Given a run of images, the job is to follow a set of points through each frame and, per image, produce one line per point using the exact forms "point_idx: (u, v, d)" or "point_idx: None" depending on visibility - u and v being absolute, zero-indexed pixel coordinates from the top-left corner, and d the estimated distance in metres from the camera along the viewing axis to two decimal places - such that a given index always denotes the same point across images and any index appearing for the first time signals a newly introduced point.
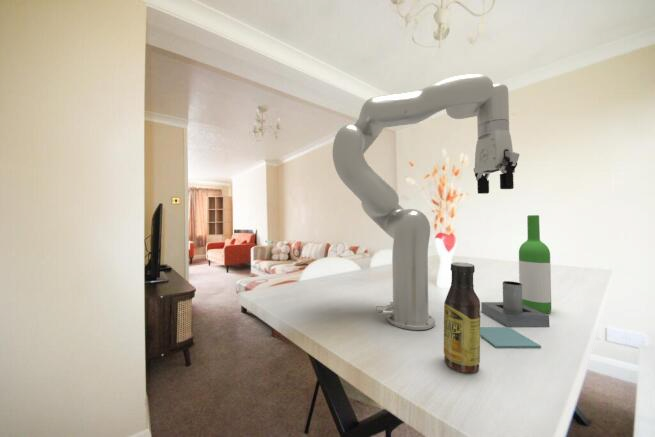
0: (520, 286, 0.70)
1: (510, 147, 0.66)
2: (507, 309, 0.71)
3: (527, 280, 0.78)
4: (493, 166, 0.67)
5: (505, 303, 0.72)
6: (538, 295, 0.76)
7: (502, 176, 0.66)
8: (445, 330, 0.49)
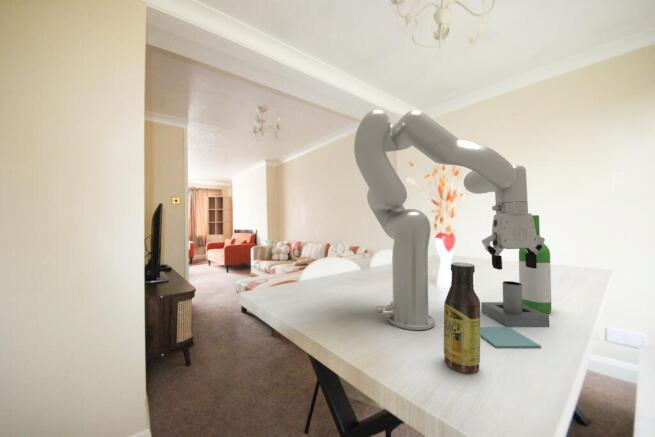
0: (520, 286, 0.70)
1: None
2: (507, 309, 0.71)
3: (527, 280, 0.78)
4: (533, 247, 0.70)
5: (505, 303, 0.72)
6: (538, 295, 0.76)
7: None
8: (445, 330, 0.49)
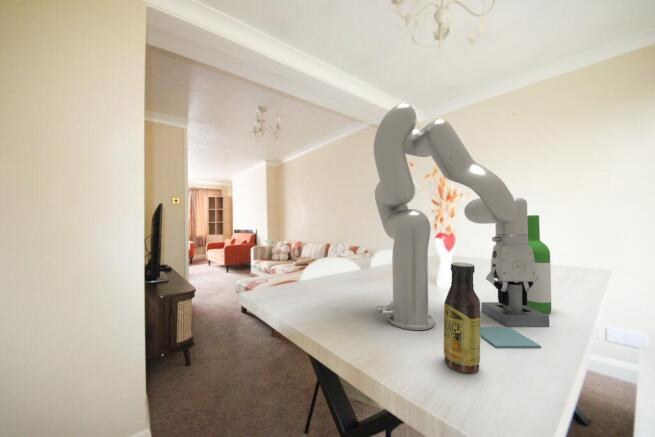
0: (520, 286, 0.70)
1: None
2: (507, 309, 0.71)
3: None
4: (532, 280, 0.70)
5: None
6: (538, 295, 0.76)
7: None
8: (445, 330, 0.49)
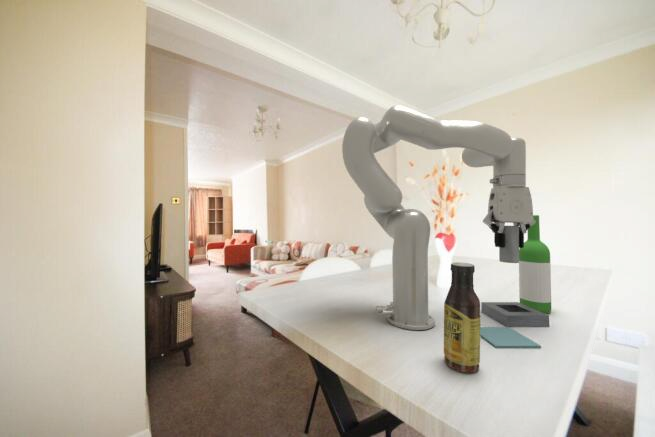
0: (517, 227, 0.69)
1: None
2: (504, 251, 0.70)
3: (527, 280, 0.78)
4: (529, 221, 0.69)
5: None
6: (538, 295, 0.76)
7: None
8: (445, 330, 0.49)
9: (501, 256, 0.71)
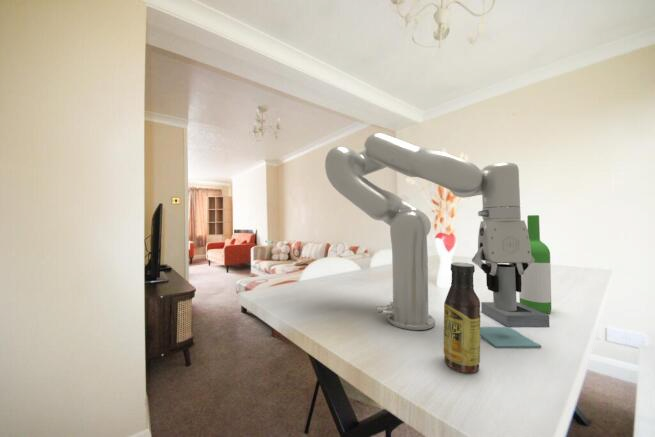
0: (513, 268, 0.58)
1: None
2: (498, 297, 0.59)
3: (527, 280, 0.78)
4: (526, 261, 0.58)
5: None
6: (538, 295, 0.76)
7: None
8: (445, 330, 0.49)
9: (495, 302, 0.60)
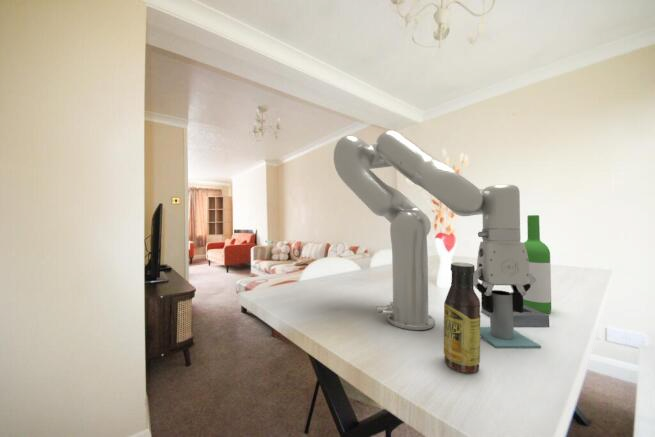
0: (510, 296, 0.59)
1: None
2: (495, 324, 0.60)
3: None
4: (525, 283, 0.58)
5: (492, 317, 0.60)
6: (538, 295, 0.76)
7: None
8: (445, 330, 0.49)
9: (492, 329, 0.60)
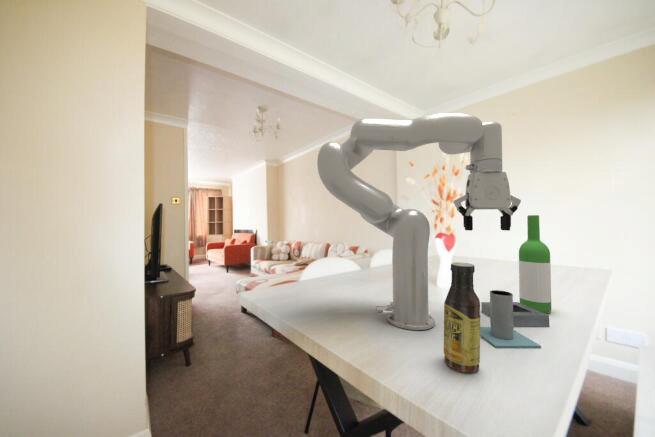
0: (510, 297, 0.59)
1: None
2: (495, 324, 0.60)
3: (527, 280, 0.78)
4: (506, 207, 0.67)
5: (493, 317, 0.60)
6: (538, 295, 0.76)
7: None
8: (445, 330, 0.49)
9: (492, 330, 0.60)
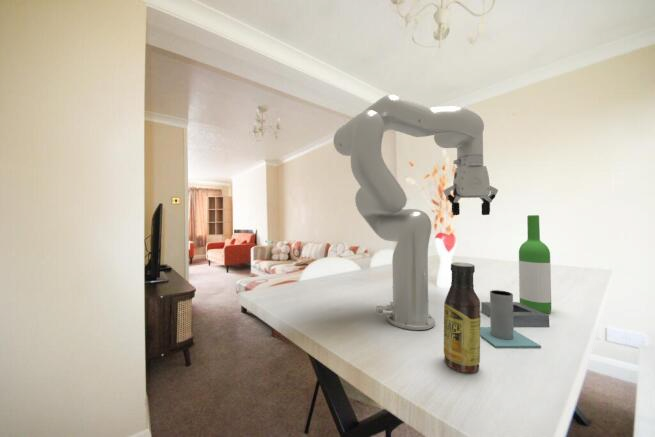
0: (510, 297, 0.59)
1: None
2: (495, 324, 0.60)
3: (527, 280, 0.78)
4: (486, 195, 0.80)
5: (493, 317, 0.60)
6: (538, 295, 0.76)
7: None
8: (445, 330, 0.49)
9: (492, 329, 0.60)
